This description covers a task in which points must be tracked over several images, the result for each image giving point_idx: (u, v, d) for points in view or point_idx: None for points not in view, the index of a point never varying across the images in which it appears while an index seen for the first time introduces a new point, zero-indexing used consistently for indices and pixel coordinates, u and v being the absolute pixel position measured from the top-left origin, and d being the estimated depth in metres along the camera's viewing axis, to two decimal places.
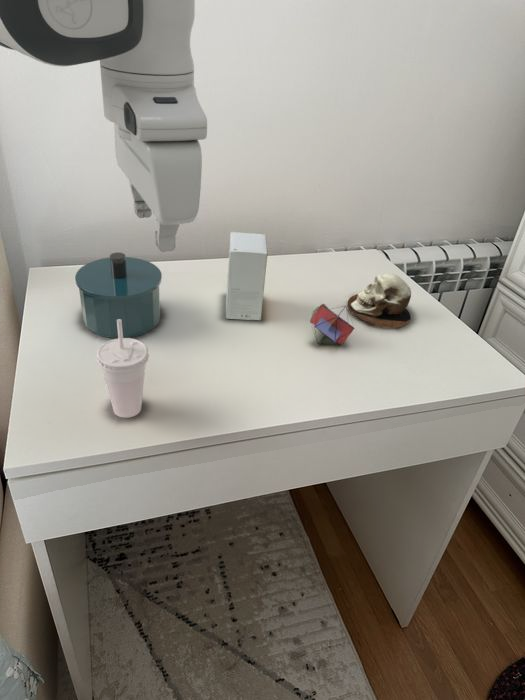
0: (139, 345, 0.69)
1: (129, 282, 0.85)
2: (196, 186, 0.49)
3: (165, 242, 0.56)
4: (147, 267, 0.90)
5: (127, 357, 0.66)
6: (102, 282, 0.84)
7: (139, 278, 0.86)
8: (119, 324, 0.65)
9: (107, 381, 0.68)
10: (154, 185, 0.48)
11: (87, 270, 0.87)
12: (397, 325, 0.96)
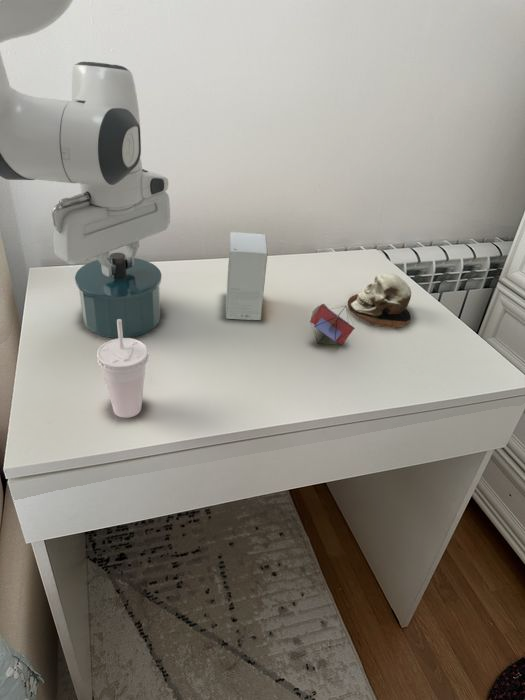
0: (139, 345, 0.69)
1: (129, 282, 0.85)
2: None
3: None
4: (147, 267, 0.90)
5: (127, 357, 0.66)
6: (102, 282, 0.84)
7: (139, 278, 0.86)
8: (119, 324, 0.65)
9: (107, 381, 0.68)
10: (168, 209, 0.87)
11: (87, 270, 0.87)
12: (397, 325, 0.96)
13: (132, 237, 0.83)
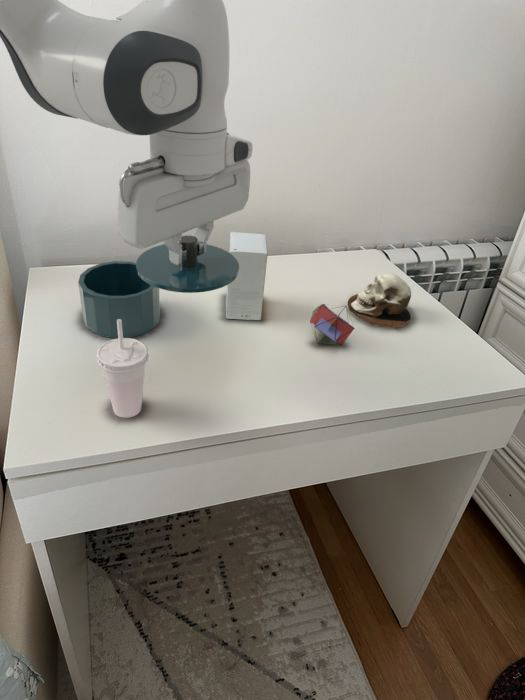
0: (139, 345, 0.69)
1: (202, 272, 0.69)
2: None
3: None
4: (219, 254, 0.74)
5: (127, 357, 0.66)
6: (169, 272, 0.69)
7: (213, 267, 0.71)
8: (119, 324, 0.65)
9: (107, 381, 0.68)
10: (248, 182, 0.71)
11: (149, 258, 0.71)
12: (397, 325, 0.96)
13: (208, 216, 0.67)
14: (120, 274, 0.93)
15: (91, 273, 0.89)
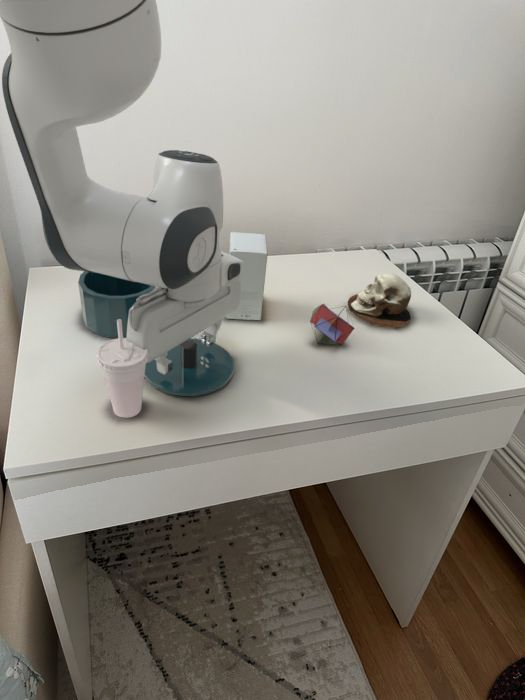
0: None
1: (201, 373, 0.79)
2: None
3: None
4: (216, 352, 0.83)
5: (127, 357, 0.66)
6: (172, 374, 0.78)
7: (211, 367, 0.80)
8: (119, 324, 0.65)
9: (107, 381, 0.68)
10: (241, 290, 0.80)
11: None
12: (397, 325, 0.96)
13: (205, 324, 0.77)
14: None
15: (91, 273, 0.89)
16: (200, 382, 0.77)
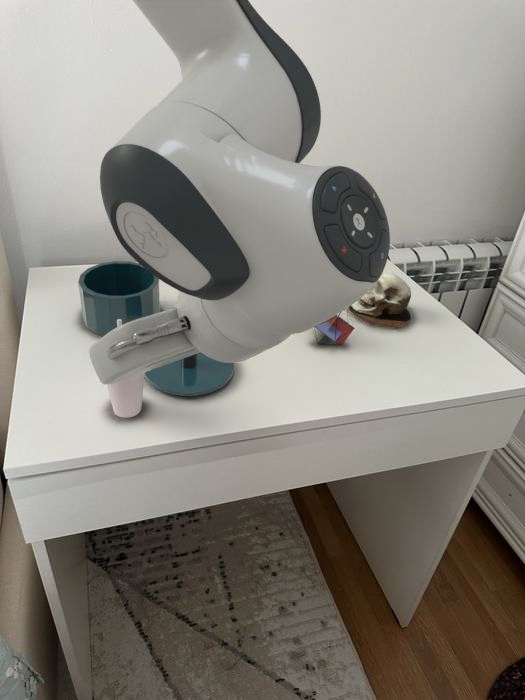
0: None
1: (201, 373, 0.79)
2: None
3: None
4: None
5: None
6: (172, 374, 0.78)
7: (211, 367, 0.80)
8: (119, 324, 0.65)
9: None
10: None
11: None
12: (397, 325, 0.96)
13: None
14: (120, 274, 0.93)
15: (91, 273, 0.89)
16: (200, 382, 0.77)
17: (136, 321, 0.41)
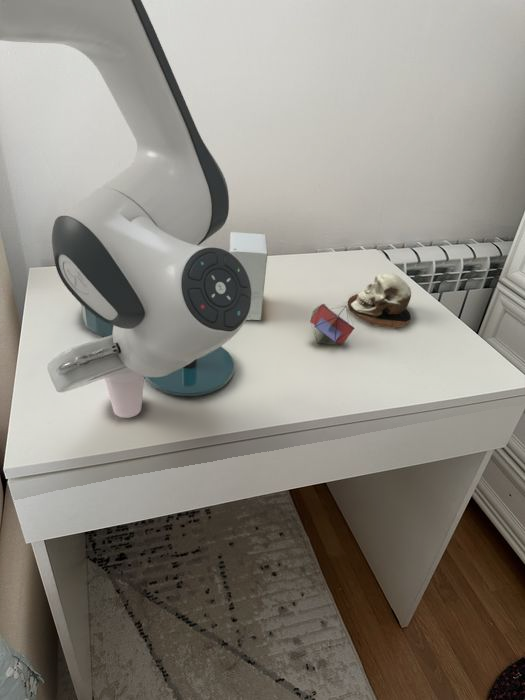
0: None
1: (201, 373, 0.79)
2: None
3: None
4: (216, 352, 0.83)
5: None
6: (172, 374, 0.78)
7: (211, 367, 0.80)
8: None
9: (107, 381, 0.68)
10: None
11: None
12: (397, 325, 0.96)
13: None
14: None
15: None
16: (200, 382, 0.77)
17: (79, 346, 0.55)
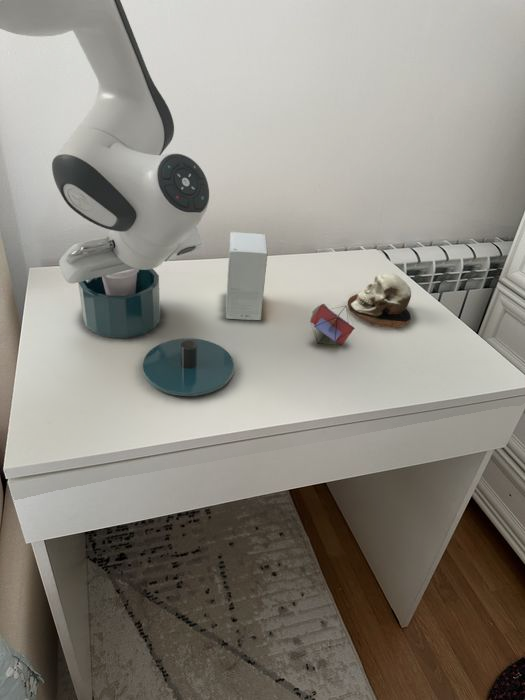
0: None
1: (201, 373, 0.79)
2: None
3: None
4: (216, 352, 0.83)
5: None
6: (172, 374, 0.78)
7: (211, 367, 0.80)
8: None
9: (106, 288, 0.86)
10: (191, 251, 0.85)
11: (154, 358, 0.81)
12: (397, 325, 0.96)
13: None
14: None
15: None
16: (200, 382, 0.77)
17: (84, 242, 0.72)
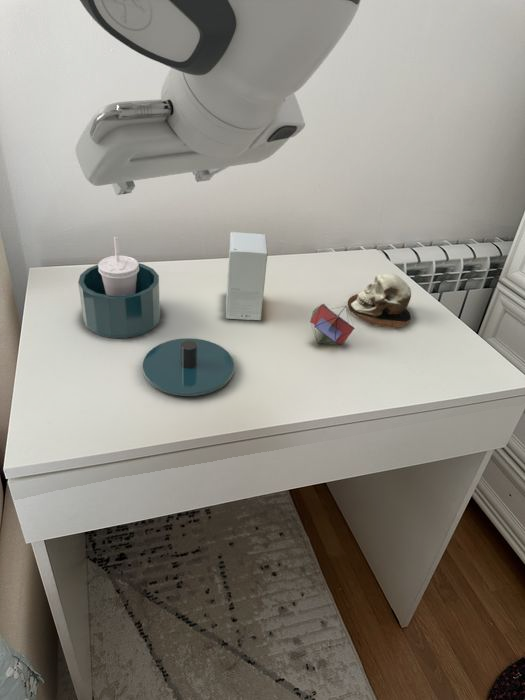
0: (131, 260, 0.87)
1: (201, 373, 0.79)
2: None
3: None
4: (216, 352, 0.83)
5: (122, 267, 0.84)
6: (172, 374, 0.78)
7: (211, 367, 0.80)
8: (115, 240, 0.83)
9: (106, 288, 0.86)
10: (279, 147, 0.54)
11: (154, 358, 0.81)
12: (397, 325, 0.96)
13: (203, 167, 0.52)
14: None
15: (91, 273, 0.89)
16: (200, 382, 0.77)
17: (120, 102, 0.42)
